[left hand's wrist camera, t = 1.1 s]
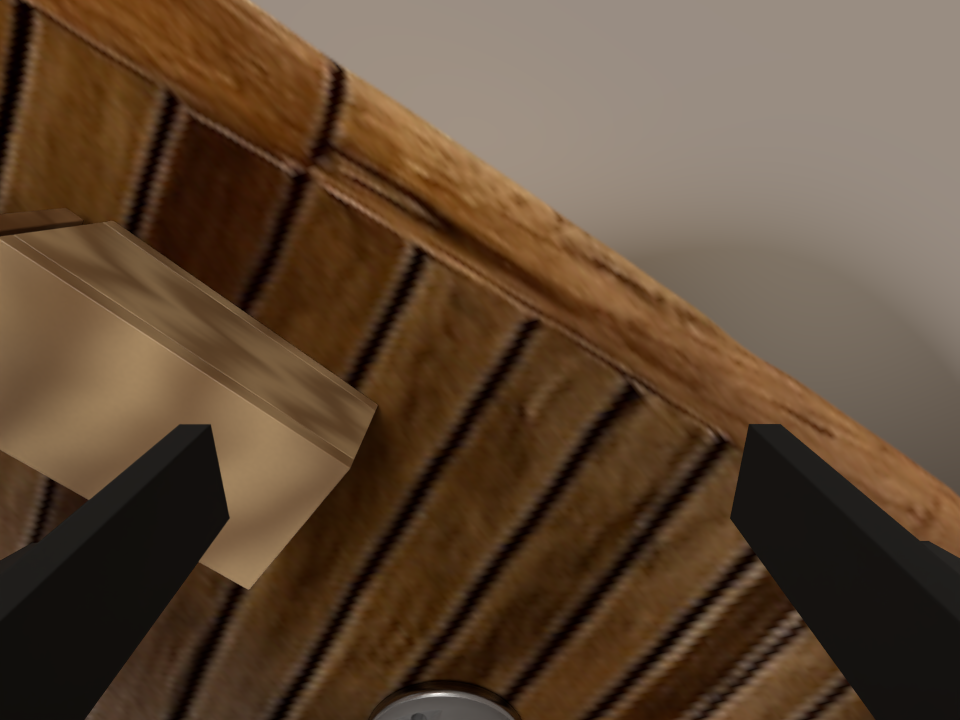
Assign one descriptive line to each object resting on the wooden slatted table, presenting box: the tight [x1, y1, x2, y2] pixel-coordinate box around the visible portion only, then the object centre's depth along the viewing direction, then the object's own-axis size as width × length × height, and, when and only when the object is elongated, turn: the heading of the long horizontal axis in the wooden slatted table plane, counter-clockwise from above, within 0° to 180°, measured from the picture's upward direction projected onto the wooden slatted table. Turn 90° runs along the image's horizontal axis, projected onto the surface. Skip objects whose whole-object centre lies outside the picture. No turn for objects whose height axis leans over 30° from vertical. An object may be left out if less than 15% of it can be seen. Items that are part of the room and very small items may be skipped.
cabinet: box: [0, 221, 378, 590], centre depth 32 cm, size 20×11×8 cm, turn 51°
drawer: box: [0, 208, 84, 236], centre depth 31 cm, size 25×10×6 cm, turn 51°
